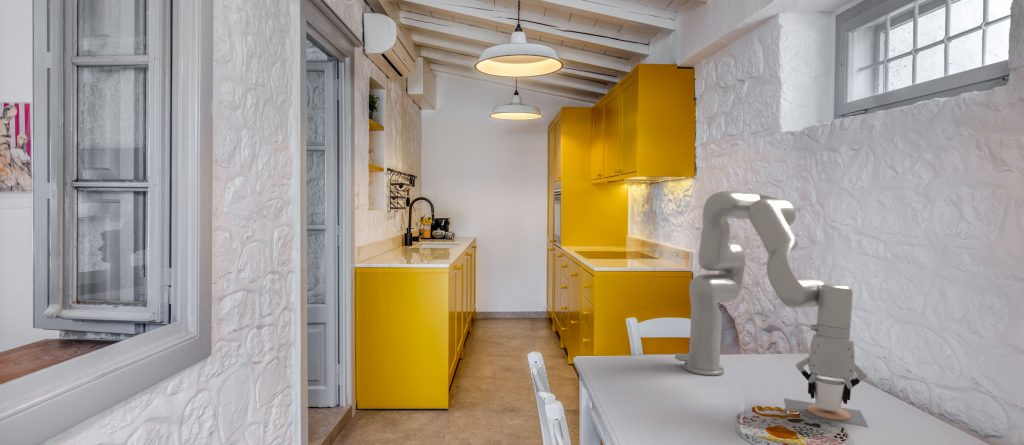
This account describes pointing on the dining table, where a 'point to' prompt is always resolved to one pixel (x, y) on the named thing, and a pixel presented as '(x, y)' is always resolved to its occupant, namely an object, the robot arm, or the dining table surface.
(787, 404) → the board
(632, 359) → the dining table surface
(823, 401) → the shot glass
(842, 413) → the coaster
